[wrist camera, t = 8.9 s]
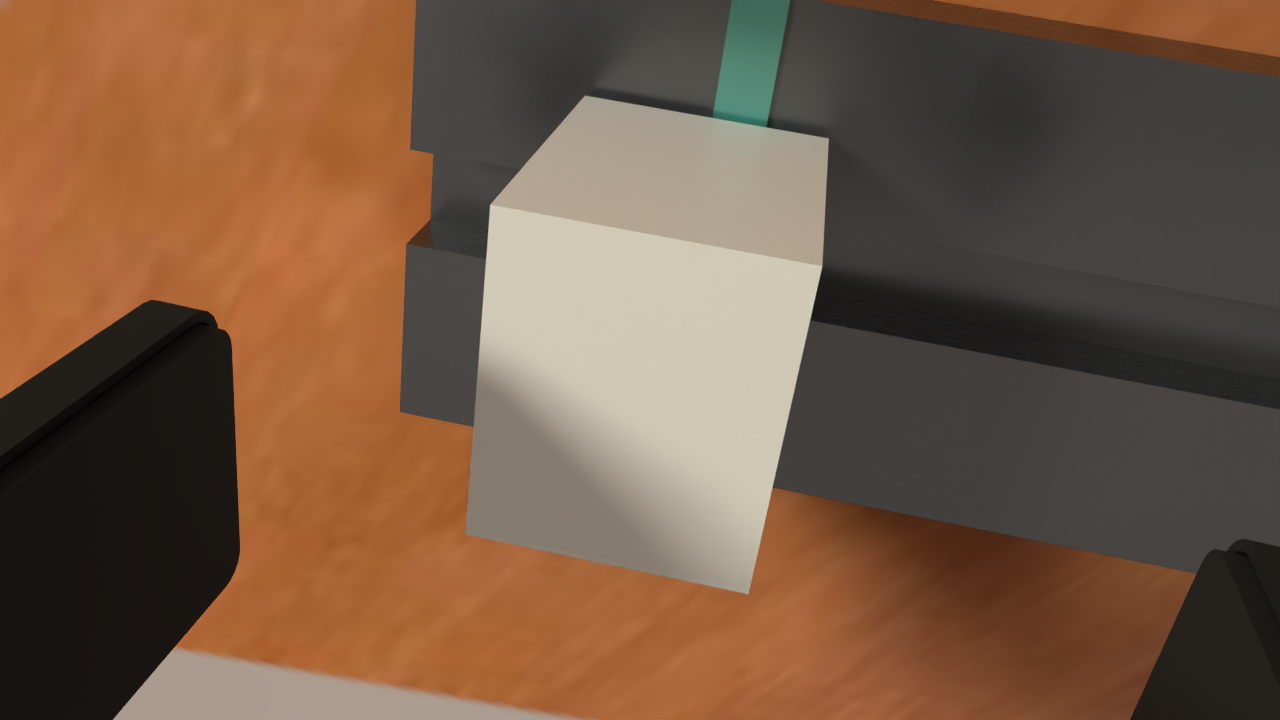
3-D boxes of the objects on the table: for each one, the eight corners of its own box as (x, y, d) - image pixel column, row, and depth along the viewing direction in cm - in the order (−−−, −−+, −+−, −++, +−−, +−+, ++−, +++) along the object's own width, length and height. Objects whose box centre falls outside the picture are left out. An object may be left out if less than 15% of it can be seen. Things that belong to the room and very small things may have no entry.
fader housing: (1958, 168, 16) (2089, 212, 14) (1650, 608, 20) (1725, 684, 18) (456, -78, 18) (416, -65, 16) (432, 366, 22) (398, 414, 20)
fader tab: (829, 117, 17) (822, 266, 12) (776, 368, 19) (748, 594, 14) (600, 77, 18) (490, 204, 12) (571, 328, 20) (465, 534, 14)
